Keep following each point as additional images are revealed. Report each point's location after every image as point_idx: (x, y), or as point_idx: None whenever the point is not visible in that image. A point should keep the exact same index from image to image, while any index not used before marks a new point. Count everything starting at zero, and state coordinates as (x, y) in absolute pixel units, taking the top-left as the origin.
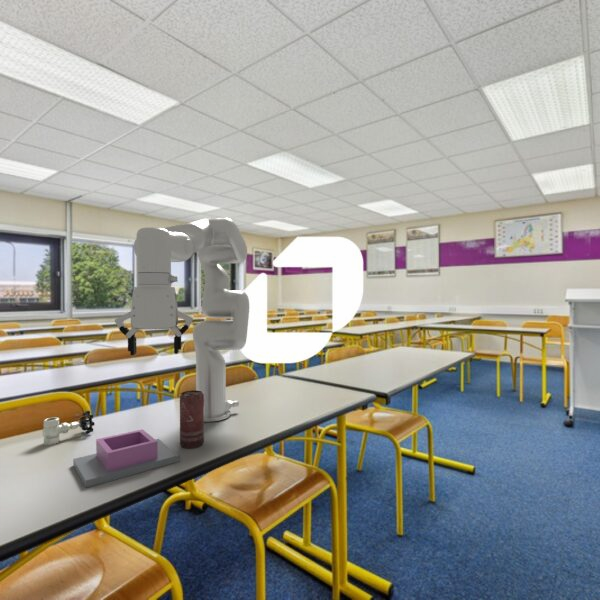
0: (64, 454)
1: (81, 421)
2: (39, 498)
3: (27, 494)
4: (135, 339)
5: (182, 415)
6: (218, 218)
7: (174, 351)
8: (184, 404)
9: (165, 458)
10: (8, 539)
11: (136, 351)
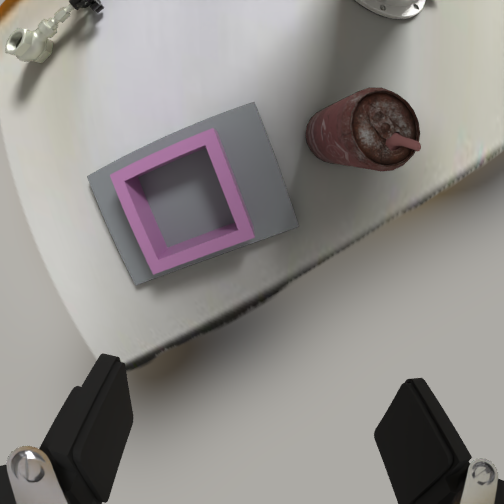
0: (68, 114)
1: (72, 4)
2: (88, 289)
3: (68, 271)
4: (93, 464)
5: (331, 150)
6: None
7: (377, 442)
8: (349, 157)
9: (270, 235)
10: None
11: (120, 365)
